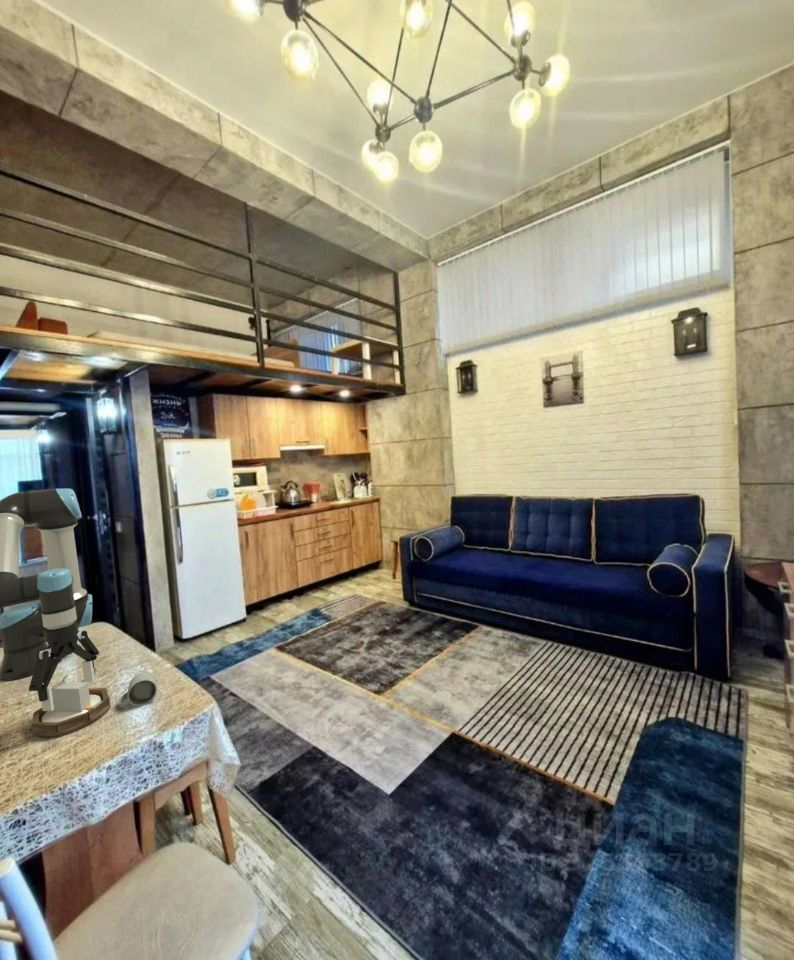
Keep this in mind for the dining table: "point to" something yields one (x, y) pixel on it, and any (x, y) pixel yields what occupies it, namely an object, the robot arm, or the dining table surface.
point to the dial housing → (73, 723)
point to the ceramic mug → (139, 690)
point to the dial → (70, 701)
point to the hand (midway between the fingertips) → (70, 695)
